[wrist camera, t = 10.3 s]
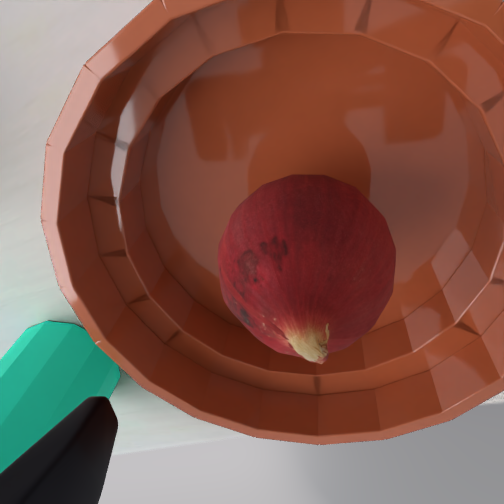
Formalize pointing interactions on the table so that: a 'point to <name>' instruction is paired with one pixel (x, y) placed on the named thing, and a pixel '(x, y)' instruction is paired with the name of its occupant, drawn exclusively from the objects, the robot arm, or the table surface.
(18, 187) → the table surface
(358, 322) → the onion
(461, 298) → the terracotta bowl
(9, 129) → the table surface
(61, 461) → the robot arm
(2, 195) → the table surface
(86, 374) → the candle
